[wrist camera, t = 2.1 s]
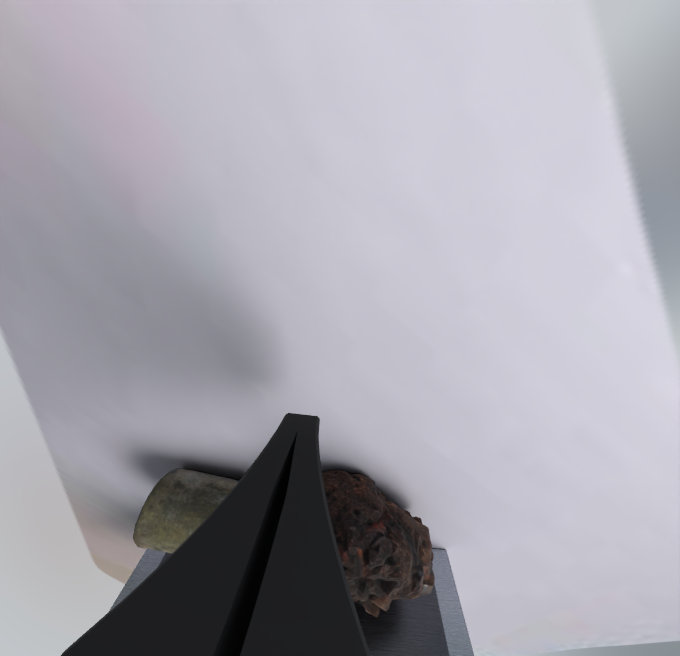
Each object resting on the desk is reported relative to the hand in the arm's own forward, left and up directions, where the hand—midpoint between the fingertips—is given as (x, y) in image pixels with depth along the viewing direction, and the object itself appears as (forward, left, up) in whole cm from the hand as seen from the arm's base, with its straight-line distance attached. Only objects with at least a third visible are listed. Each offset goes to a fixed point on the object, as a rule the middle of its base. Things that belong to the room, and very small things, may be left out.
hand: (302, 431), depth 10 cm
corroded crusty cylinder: (-10, 0, -3) cm, 10 cm away
